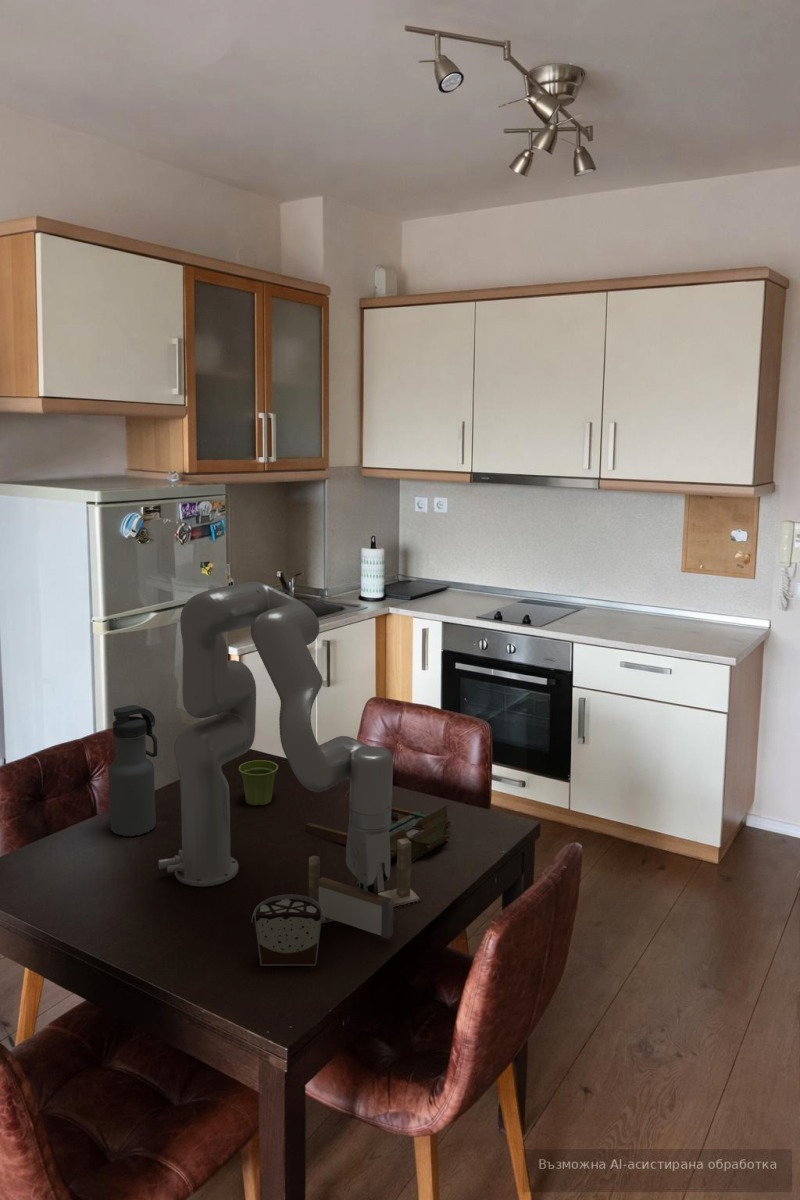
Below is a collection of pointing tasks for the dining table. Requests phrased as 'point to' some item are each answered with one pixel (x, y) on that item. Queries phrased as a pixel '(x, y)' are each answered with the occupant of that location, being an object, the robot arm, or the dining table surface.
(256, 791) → the plant pot
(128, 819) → the water bottle
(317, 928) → the food container
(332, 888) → the panel
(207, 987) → the dining table surface
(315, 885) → the gate frame
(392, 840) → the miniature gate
